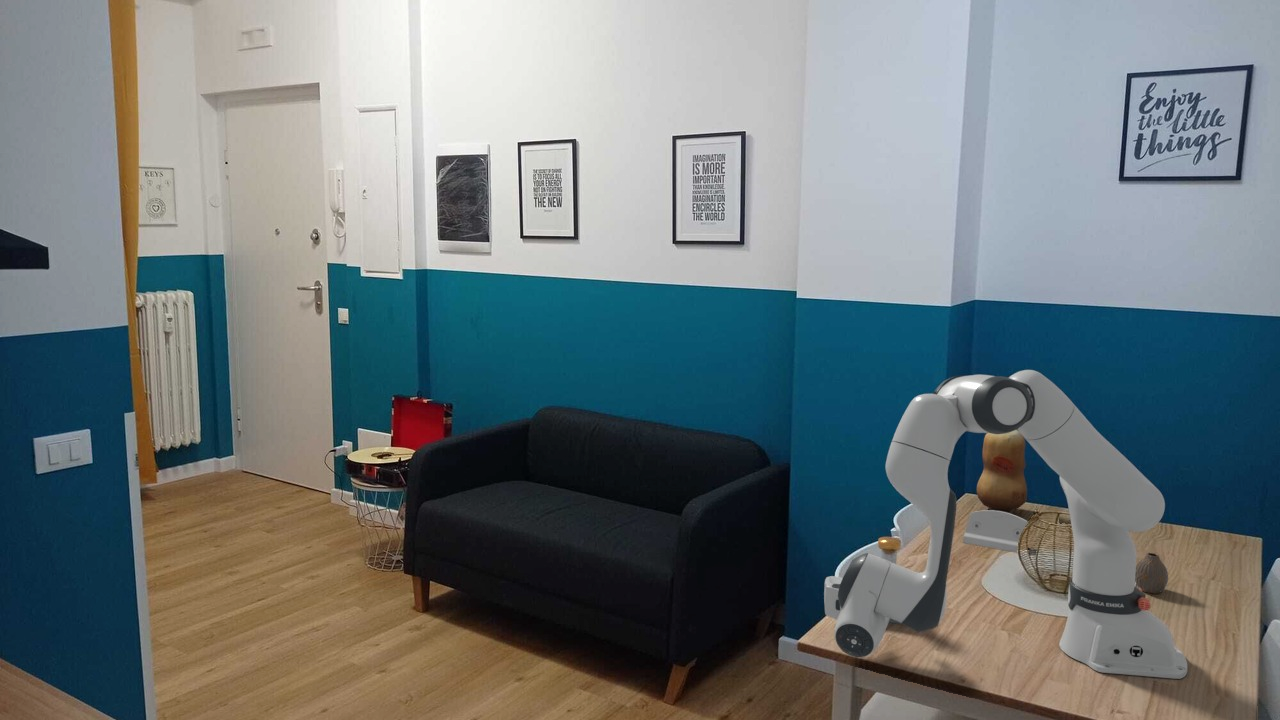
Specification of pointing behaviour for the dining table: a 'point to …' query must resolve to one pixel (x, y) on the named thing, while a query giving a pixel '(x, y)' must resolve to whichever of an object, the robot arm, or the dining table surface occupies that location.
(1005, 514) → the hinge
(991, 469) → the butternut squash
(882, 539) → the lynch pin
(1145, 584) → the vase
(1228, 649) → the dining table surface
